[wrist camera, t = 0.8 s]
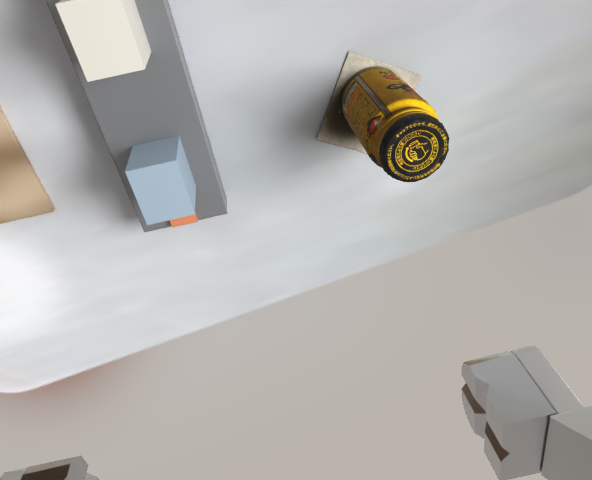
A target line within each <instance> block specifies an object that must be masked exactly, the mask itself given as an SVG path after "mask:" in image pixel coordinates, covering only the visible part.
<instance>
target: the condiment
mask: <svg viewBox="0 0 592 480" xmlns="http://www.w3.org/2000/svg"><path fill="white" fill-rule="evenodd" d="M420 78H421V75H418V74H415V73H412V72H410V71H406V70H403V69H401V68H398V67H395V66H392V65H389V64H386V63H383V62H380V61H377V60H374V59H371V58H368V57H365V56H362V55H359V54H356V53H353V52H350V51H349V54H348V56H347V59H346V61H345V64H344V67H343V69H342V72H341V74H340V77H339V79H338V82H337V85H336V88H335V90H334V93H333V96H332V98H331V101H330V105H329V107H328V109H327V112H326V115H325V117H324V120H323V123H322V125H321V129H320V131H319V134H318V136H317V139H316V140H318V141H322V142H327V143H330V144H334V145H338V146H342V147H346V148H349V149H353V150H357V151H360V152H364V153H367V154H368V155H369V157H370V158H371V160H372V161H373V162H374V163H376V164H377V165H378V166H380V167H382V168H383V169H384V171H385V172H387V174H388V175H390V176H391V177H392V178H395V179H397V180H400V181H403V182H416V181H419V180H422V179H425V178H427V177H428V176H430V175H431V174H432V173H434V172H435V171H436V170H437V169H439V167H440V166H441V164H442V163H443V161H444V160H445V158H446V155H447V153H448V143H449V137H448V134H447V132H446V130H445V128H444V126H443V124H442V123H441V122H439V120H438V116H437V114H436V112H435V110H434V109H433V108H432V107H431V106H430V105H429V104H428V102H426V100H424V99H423V98H421V97H420V96H419V95H418V94H417V93H416V92H415V91H414V90H415V87H416V85H417V83H418V81H419V79H420ZM339 111H340V113H339Z"/></svg>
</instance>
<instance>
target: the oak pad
mask: <svg viewBox="0 0 592 480" xmlns="http://www.w3.org/2000/svg"><path fill="white" fill-rule="evenodd" d="M54 209H55V208H54V207H53V205H52V203H51V201H50V199H49V197H48V195H47V193H46V192H45V190H44V188H43V186H42V184H41V182H40V180H39V178H38V177H37V175H36V173H35V171H34V169H33V167H32V165H31V163H30V161H29V160H28V158H27V156H26V154H25V152H24V150H23V148H22V146H21V145H20V143H19V141H18V139H17V137H16V135H15V133H14V131H13V130H12V128H11V126H10V124H9V122H8V120H7V118H6V116H5V115H4V113H3V111H2V109H1V107H0V224H1V223H5V222H10V221H14V220H18V219H23V218H27V217H32V216H36V215H41V214H45V213H49V212H53V211H54Z"/></svg>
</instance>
